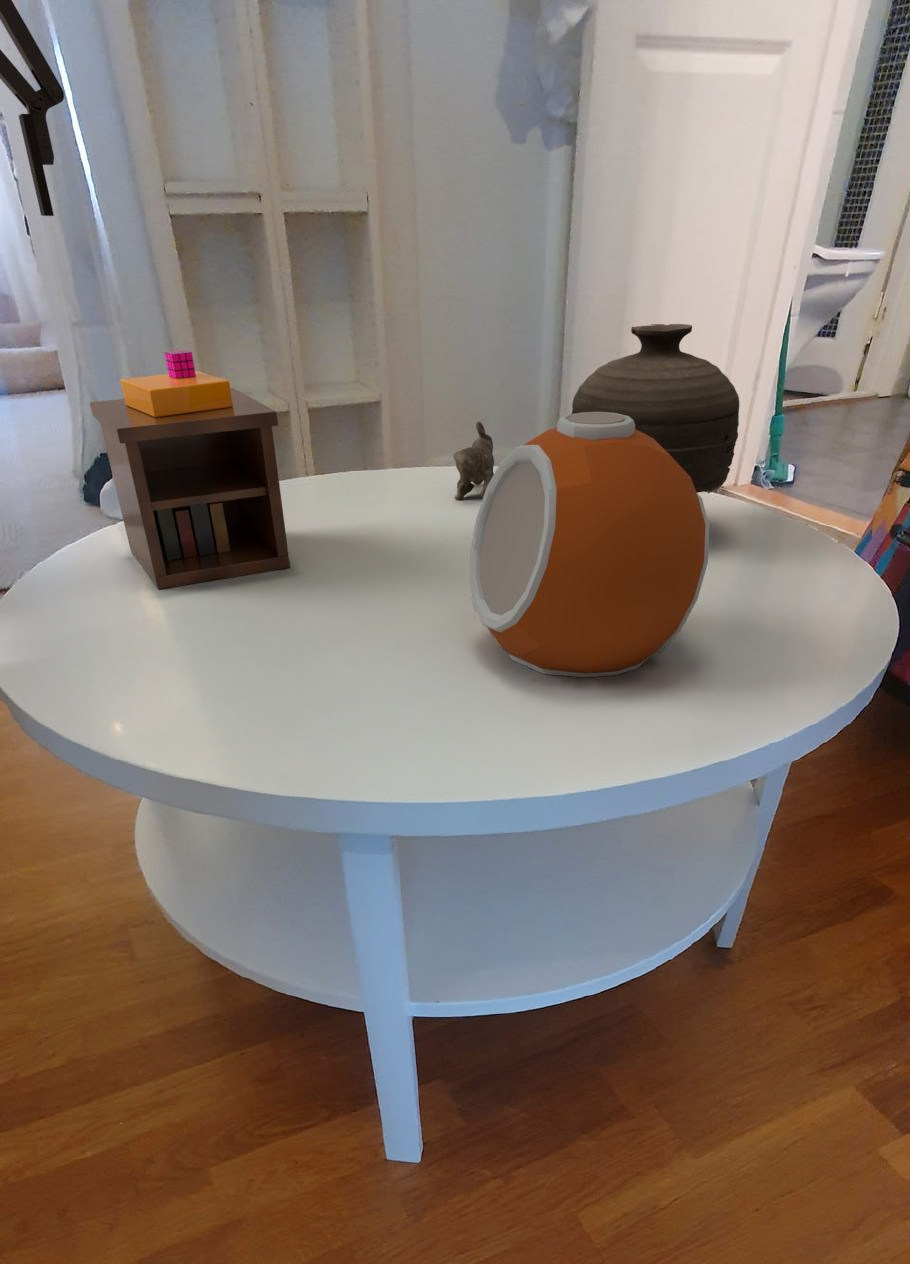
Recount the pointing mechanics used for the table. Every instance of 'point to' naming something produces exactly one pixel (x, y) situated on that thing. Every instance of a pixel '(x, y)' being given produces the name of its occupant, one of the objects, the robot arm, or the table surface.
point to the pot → (671, 402)
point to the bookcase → (197, 489)
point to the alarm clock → (588, 548)
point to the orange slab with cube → (177, 389)
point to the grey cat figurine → (475, 464)
